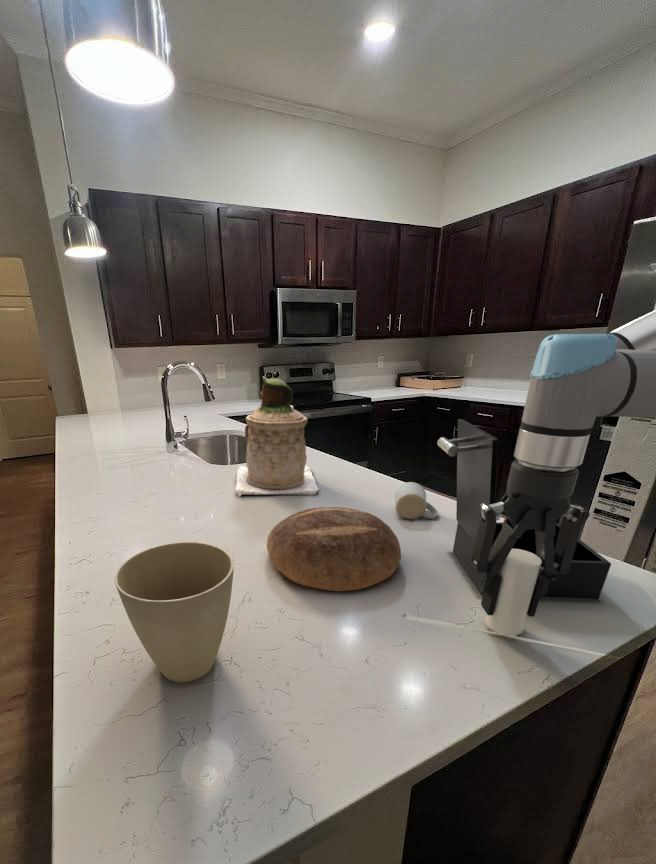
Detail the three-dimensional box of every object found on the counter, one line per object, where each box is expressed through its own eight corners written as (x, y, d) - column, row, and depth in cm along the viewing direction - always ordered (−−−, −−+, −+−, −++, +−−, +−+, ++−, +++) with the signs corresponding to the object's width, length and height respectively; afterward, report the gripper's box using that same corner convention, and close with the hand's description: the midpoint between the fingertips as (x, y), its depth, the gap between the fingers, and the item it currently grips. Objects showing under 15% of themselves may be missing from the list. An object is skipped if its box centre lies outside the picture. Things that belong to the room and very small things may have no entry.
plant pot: (243, 629, 67) (239, 540, 60) (233, 706, 53) (226, 602, 47) (150, 628, 67) (136, 540, 61) (116, 705, 53) (94, 601, 47)
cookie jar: (320, 496, 120) (324, 379, 107) (234, 498, 119) (228, 381, 106) (310, 469, 142) (312, 371, 130) (237, 471, 142) (233, 372, 129)
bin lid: (462, 418, 76) (429, 423, 77) (498, 439, 62) (457, 444, 63) (460, 519, 84) (430, 522, 85) (492, 557, 70) (456, 561, 71)
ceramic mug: (394, 519, 104) (397, 491, 101) (393, 507, 111) (396, 480, 108) (439, 524, 102) (444, 495, 99) (435, 511, 109) (440, 483, 106)
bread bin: (549, 557, 86) (559, 523, 83) (597, 602, 72) (611, 563, 69) (451, 555, 88) (457, 521, 85) (480, 599, 73) (489, 560, 70)
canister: (519, 618, 66) (537, 551, 61) (525, 639, 61) (545, 569, 57) (483, 611, 68) (498, 546, 63) (486, 631, 63) (502, 562, 58)
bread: (262, 534, 97) (261, 495, 93) (374, 528, 100) (377, 490, 96) (274, 600, 74) (273, 551, 70) (420, 590, 76) (427, 542, 72)
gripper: (600, 455, 57) (556, 597, 66) (462, 454, 58) (438, 594, 67) (641, 472, 50) (585, 628, 59) (484, 470, 51) (453, 624, 61)
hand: (507, 610), depth 63 cm, fingers closed on canister, 5 cm apart
